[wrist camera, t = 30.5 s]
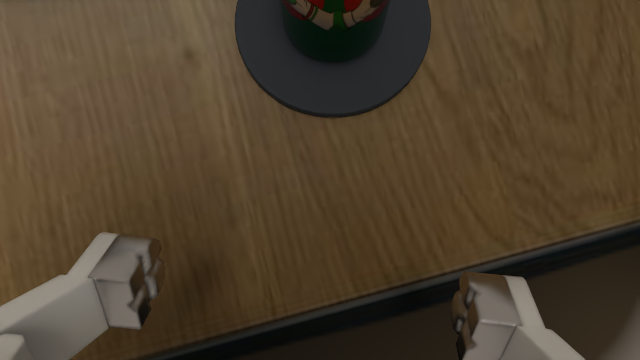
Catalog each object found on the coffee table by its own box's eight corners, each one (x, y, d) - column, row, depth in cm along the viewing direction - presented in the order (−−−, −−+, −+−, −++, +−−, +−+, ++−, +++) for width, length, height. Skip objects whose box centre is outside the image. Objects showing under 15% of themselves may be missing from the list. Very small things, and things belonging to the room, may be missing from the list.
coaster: (417, -67, 24) (419, -75, 23) (439, 110, 22) (442, 106, 22) (232, -54, 24) (230, -62, 23) (241, 125, 22) (239, 121, 21)
